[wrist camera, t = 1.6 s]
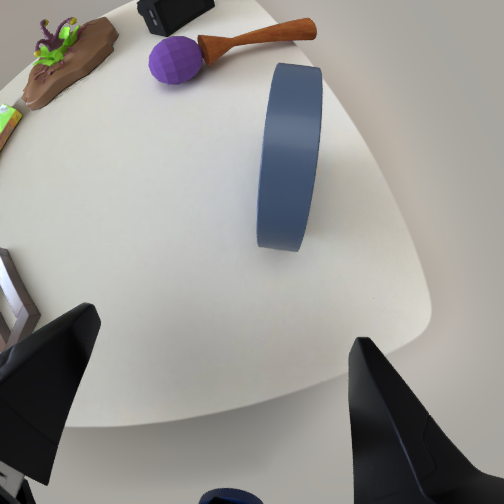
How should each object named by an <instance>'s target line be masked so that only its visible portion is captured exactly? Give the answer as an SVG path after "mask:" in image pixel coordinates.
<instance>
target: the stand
mask: <svg viewBox="0 0 504 504" xmlns="http://www.w3.org/2000/svg"><path fill="white" fill-rule="evenodd" d="M0 285H1V287H2V289H3V292H4V294H5V296H6V298H7V300H8V302H9V304H10V306H11V308H12V310H13V312H14V314H15V316H16V318H17V320H16V322H15V325H14V327H13V329H12V332H11V333H10V331H9V329H8V327H7V325H6V323H5V321H4V319H3V317H2V315H1V312H0V353H2V352H3V351H5V350H6V349H8V348H9V347H11V346H14V344H16V343H17V342H19V341H21V340H22V339H24V338H25V337H27V336H29V335H30V334H32V332H33V330H34V328H35V326H36V324H37V322H38V320H39V318H40V316H41V315H40V313H39V311H38V310H37V308H36V306H35V305H34V303H33V301H32V299H31V298H30V296H29V294H28V292H27V290H26V289H25V287H24V285H23V283H22V281H21V279H20V277H19V275H18V273H17V271H16V269H15V267H14V265H13V263H12V260H11V258H10V256H9V254H8V251H7V249H4V248H0Z"/></svg>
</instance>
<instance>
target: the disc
mask: <svg viewBox="0 0 504 504" xmlns="http://www.w3.org/2000/svg"><path fill="white" fill-rule="evenodd" d="M322 93H323V88H322V73H321V70H320V68H317V67H311V66H303V65H295V64H286V63H278V64H277V66H276V68H275V71H274V75H273V79H272V84H271V89H270V94H269V101H268V107H267V114H266V121H265V129H264V137H263V145H262V155H261V165H260V176H259V188H258V202H257V244H258V246H259V247H264V248H271V249H278V250H286V251H293V252H298V250H299V248H300V246H301V243H302V240H303V237H304V233H305V229H306V225H307V220H308V215H309V210H310V205H311V200H312V194H313V188H314V182H315V175H316V168H317V160H318V152H319V143H320V132H321V119H322Z"/></svg>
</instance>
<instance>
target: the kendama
mask: <svg viewBox="0 0 504 504" xmlns="http://www.w3.org/2000/svg"><path fill="white" fill-rule="evenodd" d="M316 35H317V30H316V26H315V24H314V22H313V21H312V20H311V19H310V18H303V19H298V20H294V21H289V22H285V23H281V24H277V25H273V26H269V27H266V28H262V29H259V30H255V31H252V32H249V33H246V34H243V35H240V36H237V37H234V38H225V37H217V36H206V35H198V44H197V43H196V42H195V41H194V40H192V39H189V38H187V37H184V36H172V37H169V38H167V39H164V40H162V41H161V42H160V43H158V44H157V45H156V46H155V47H154V48H153V50H152V52H151V54H150V56H149V68H150V71H151V73H152V75H153V76H154V77H155V78H156V79H157V80H158V81H160V82H163V83H166V84H180V83H183V82H186V81H188V80H190V79H191V78H192V77H193V76H194V75H196V74H197V73H198V71H199V69H200V67H201V65H202V61H203V59H204V61H205V63H206V64H207V65H208V66H210V65H211V64H212V63H213V62H214V61H216V60H217V59H218V58H219V57H221V56H222V55H223V54H224V53H226V52H227V51H228V50H230V49H231V48H232V47H234V46H239V45H246V44H254V43H264V42H276V41H293V40H313V39H315V38H316Z"/></svg>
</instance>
